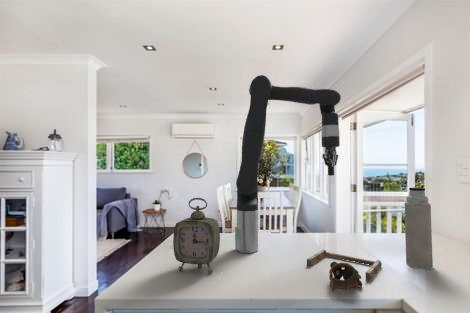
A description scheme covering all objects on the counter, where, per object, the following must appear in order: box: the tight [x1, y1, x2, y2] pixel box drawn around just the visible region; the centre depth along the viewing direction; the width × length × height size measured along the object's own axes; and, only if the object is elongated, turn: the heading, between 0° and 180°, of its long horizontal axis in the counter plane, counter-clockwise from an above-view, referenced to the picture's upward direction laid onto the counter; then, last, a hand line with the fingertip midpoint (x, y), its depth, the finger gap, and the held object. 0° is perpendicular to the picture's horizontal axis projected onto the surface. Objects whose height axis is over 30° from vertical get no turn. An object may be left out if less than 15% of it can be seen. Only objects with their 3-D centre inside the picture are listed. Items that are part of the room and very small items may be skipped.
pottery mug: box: [328, 261, 363, 291], centre depth 81 cm, size 12×10×8 cm
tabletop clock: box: [172, 197, 221, 275], centre depth 95 cm, size 14×9×25 cm, turn 77°
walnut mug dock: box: [306, 249, 383, 282], centre depth 97 cm, size 16×21×2 cm
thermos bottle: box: [403, 187, 434, 270], centre depth 99 cm, size 8×8×28 cm
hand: (331, 175), depth 120 cm, fingers closed
